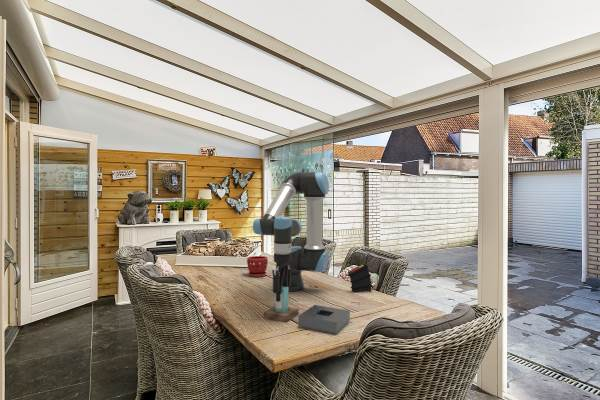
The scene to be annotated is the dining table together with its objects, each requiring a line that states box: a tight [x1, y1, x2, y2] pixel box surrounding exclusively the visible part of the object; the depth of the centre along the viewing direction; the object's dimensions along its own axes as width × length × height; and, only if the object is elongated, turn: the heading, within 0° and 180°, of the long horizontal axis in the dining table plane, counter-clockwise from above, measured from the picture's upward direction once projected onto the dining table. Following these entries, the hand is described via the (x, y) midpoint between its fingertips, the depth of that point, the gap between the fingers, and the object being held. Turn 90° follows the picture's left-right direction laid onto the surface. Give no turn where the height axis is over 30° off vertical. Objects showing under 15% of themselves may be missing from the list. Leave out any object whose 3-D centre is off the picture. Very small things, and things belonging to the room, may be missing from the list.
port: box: [297, 304, 351, 335], centre depth 146 cm, size 16×16×4 cm
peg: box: [275, 286, 289, 313], centre depth 155 cm, size 4×4×12 cm
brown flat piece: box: [263, 305, 300, 323], centre depth 155 cm, size 11×11×2 cm
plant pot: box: [246, 255, 269, 278], centre depth 231 cm, size 13×13×12 cm
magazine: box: [347, 263, 373, 293], centre depth 198 cm, size 4×13×15 cm, turn 107°
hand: (281, 306), depth 155 cm, fingers closed on peg, 4 cm apart
